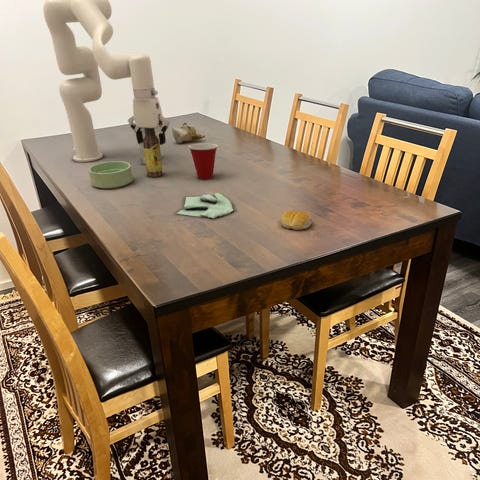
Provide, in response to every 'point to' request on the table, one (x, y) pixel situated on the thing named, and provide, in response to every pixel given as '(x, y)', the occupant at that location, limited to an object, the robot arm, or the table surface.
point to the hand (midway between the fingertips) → (151, 143)
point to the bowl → (110, 174)
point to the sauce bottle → (152, 153)
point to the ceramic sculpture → (186, 133)
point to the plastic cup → (204, 159)
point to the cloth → (207, 206)
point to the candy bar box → (142, 144)
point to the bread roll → (296, 220)
